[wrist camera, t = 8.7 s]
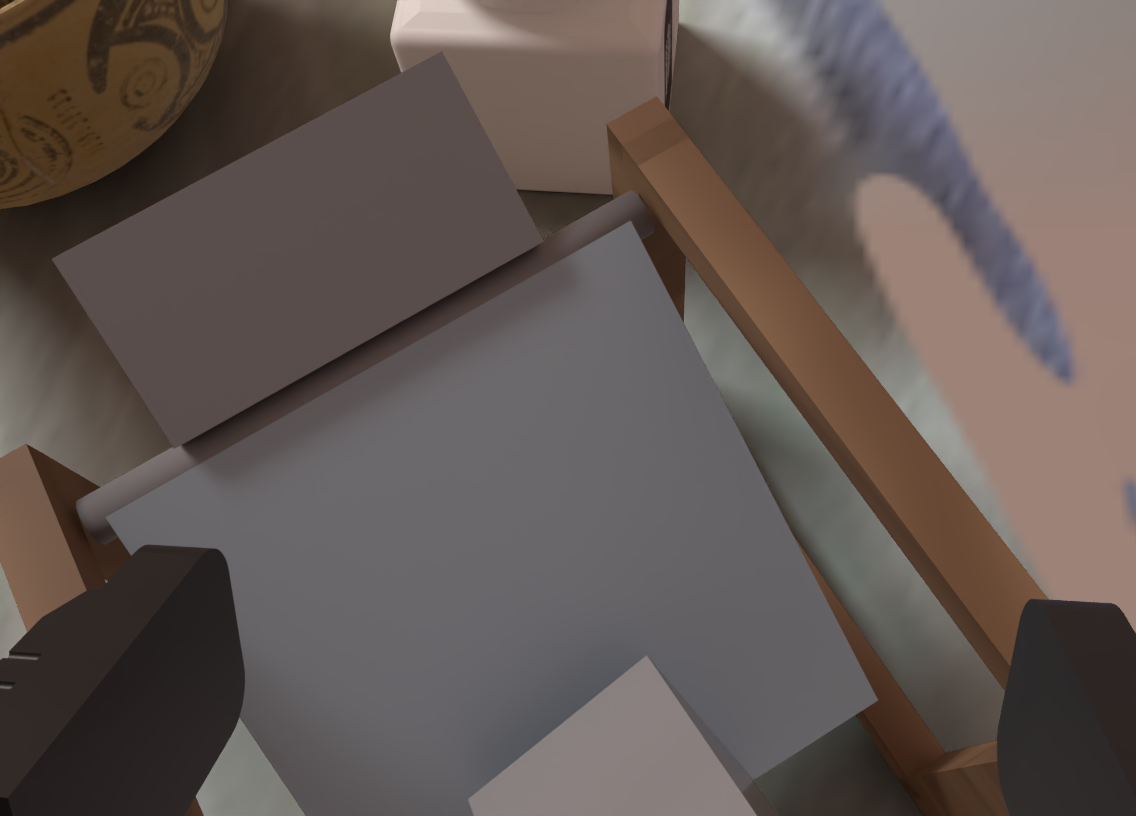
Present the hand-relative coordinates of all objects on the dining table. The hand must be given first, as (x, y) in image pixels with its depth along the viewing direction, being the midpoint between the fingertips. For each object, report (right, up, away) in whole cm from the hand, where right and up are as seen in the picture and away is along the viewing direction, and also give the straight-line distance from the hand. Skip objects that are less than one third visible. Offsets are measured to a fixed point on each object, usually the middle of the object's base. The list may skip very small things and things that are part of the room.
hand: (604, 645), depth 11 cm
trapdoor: (-3, 0, +12) cm, 12 cm away
